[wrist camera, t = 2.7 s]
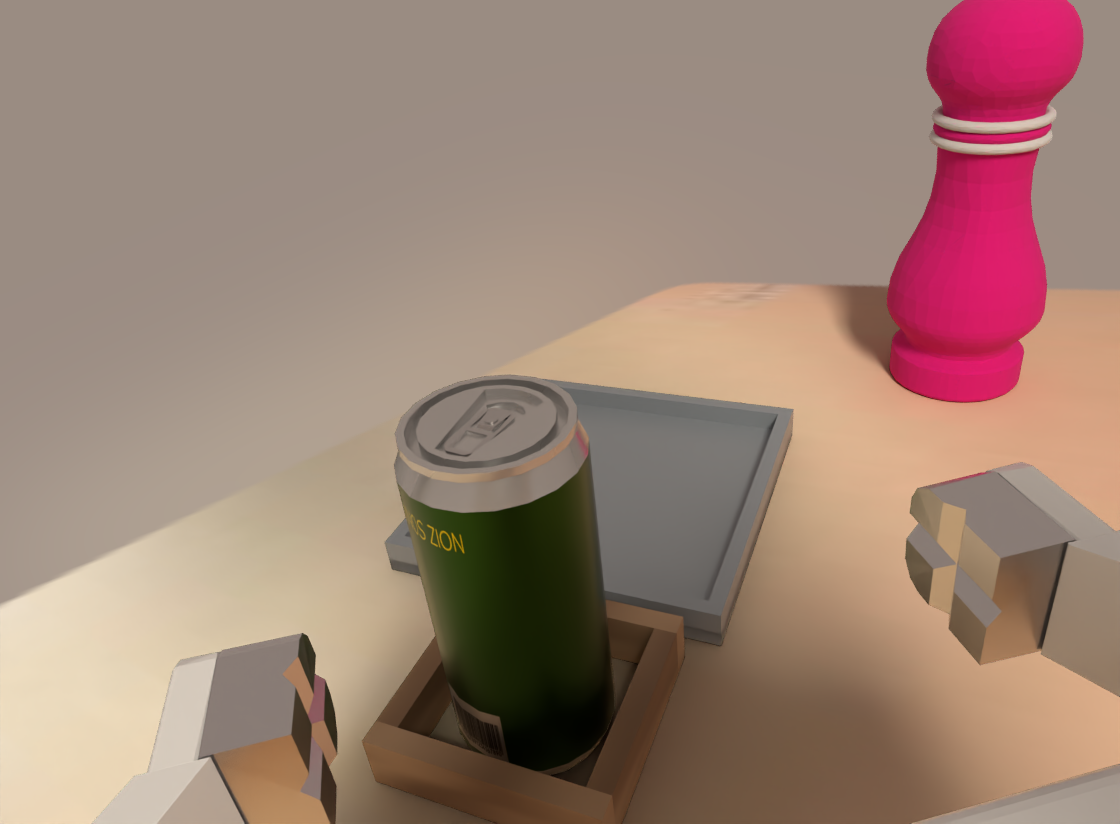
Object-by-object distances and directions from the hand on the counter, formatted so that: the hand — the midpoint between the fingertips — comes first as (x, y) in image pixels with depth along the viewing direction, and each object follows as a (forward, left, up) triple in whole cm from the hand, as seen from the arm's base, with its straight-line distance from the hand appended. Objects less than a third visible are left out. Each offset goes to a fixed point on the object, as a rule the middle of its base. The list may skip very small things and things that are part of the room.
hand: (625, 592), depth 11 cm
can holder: (-7, +9, -16) cm, 20 cm away
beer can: (-7, +9, -16) cm, 20 cm away
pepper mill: (+5, +36, -16) cm, 40 cm away
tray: (-9, +21, -16) cm, 28 cm away
